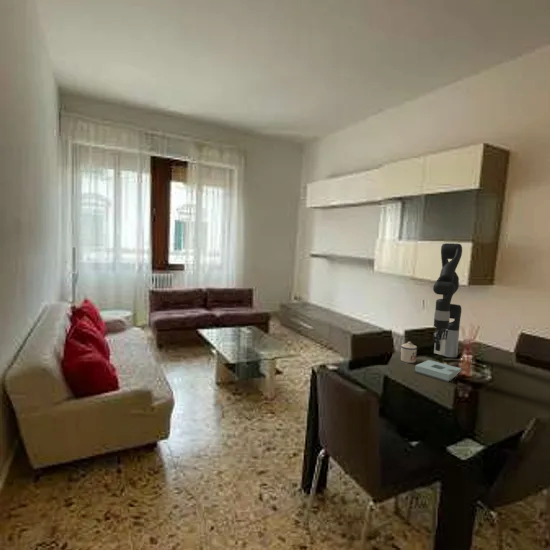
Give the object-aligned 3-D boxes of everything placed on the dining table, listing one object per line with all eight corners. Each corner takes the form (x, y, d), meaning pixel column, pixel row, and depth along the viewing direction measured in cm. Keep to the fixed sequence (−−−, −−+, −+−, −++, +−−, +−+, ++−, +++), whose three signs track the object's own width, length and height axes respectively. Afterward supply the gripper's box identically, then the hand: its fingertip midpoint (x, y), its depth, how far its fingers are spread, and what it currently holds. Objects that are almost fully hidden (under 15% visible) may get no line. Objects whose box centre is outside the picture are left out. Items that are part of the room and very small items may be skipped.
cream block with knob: (437, 351, 205) (438, 336, 204) (444, 353, 202) (445, 338, 201) (433, 353, 202) (435, 337, 201) (441, 354, 199) (442, 339, 199)
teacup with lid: (413, 364, 219) (414, 344, 218) (397, 360, 224) (399, 341, 223) (420, 359, 228) (421, 341, 227) (405, 356, 234) (406, 338, 232)
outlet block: (428, 366, 215) (428, 359, 215) (460, 375, 202) (461, 368, 202) (414, 372, 204) (415, 365, 204) (448, 382, 191) (448, 374, 191)
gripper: (440, 316, 208) (438, 346, 209) (428, 318, 198) (426, 350, 200) (454, 318, 202) (452, 349, 204) (443, 321, 193) (440, 353, 194)
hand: (439, 349), depth 202 cm, fingers closed on cream block with knob, 4 cm apart
